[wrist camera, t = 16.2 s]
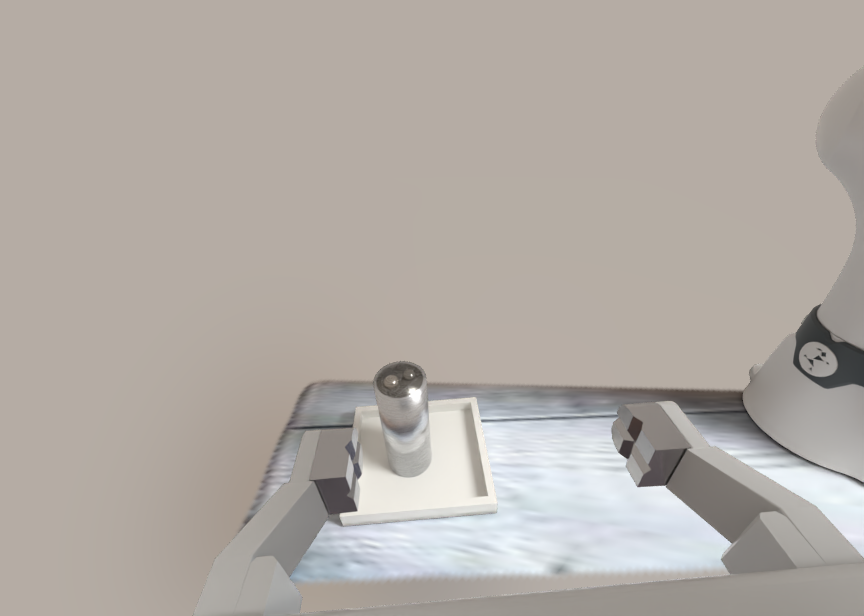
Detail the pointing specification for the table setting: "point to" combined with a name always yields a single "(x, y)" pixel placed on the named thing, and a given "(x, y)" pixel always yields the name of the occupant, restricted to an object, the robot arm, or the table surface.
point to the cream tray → (442, 481)
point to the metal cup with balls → (404, 417)
